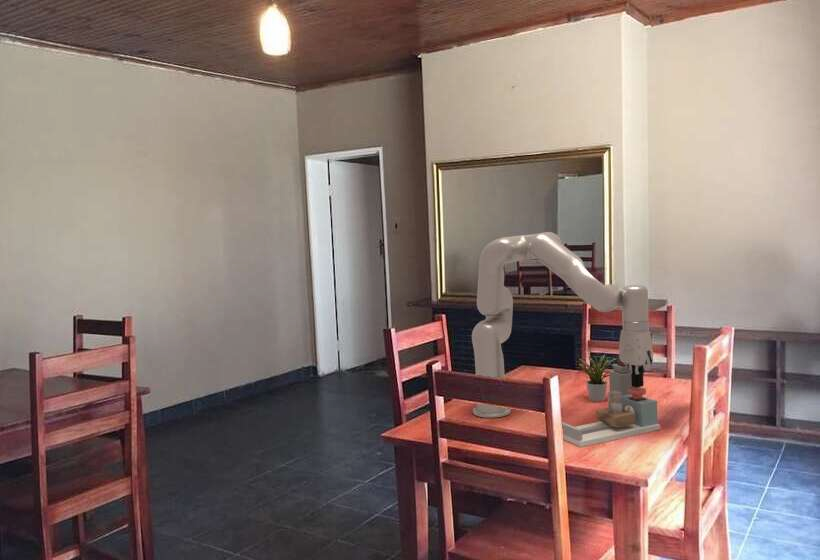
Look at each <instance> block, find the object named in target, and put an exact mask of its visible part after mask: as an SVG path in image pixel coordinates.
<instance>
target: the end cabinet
mask: <svg viewBox="0 0 820 560" xmlns="http://www.w3.org/2000/svg"><path fill="white" fill-rule="evenodd" d="M642 398H643V399H642V400H633V399H632V395H631V394H630V395H625V396H622V409H623V410H626V411H629V412H632V413H635V424H634V425H637V426H640V427H645V426H650V425H654V424H659V422H658V401H657V400H656V399H652V398H648V397H645V396H642Z"/></svg>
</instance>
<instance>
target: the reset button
mask: <svg viewBox="0 0 820 560" xmlns="http://www.w3.org/2000/svg"><path fill="white" fill-rule="evenodd" d="M628 393H629V394H631V395H632V399H633V400H642V399H643V398H642V397H643V395H644V396H645V395H646V394H647V388H645V387H643V386H642V387H637V388H636V387H630V388H628Z"/></svg>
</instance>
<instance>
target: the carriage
mask: <svg viewBox="0 0 820 560" xmlns="http://www.w3.org/2000/svg"><path fill="white" fill-rule="evenodd" d="M607 403H608V406H607V407H605V408H601V409H596V410H595V416H596V417H595V420H596V421H597V422H603V423H606V424H608V425H611V426H613V427H616V428H617V427H622V426H627V425H631V424H635V413H632V412H629V411H626V410H623V409H622V392H619V391H612V392H610V391H608V392H607Z"/></svg>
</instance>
